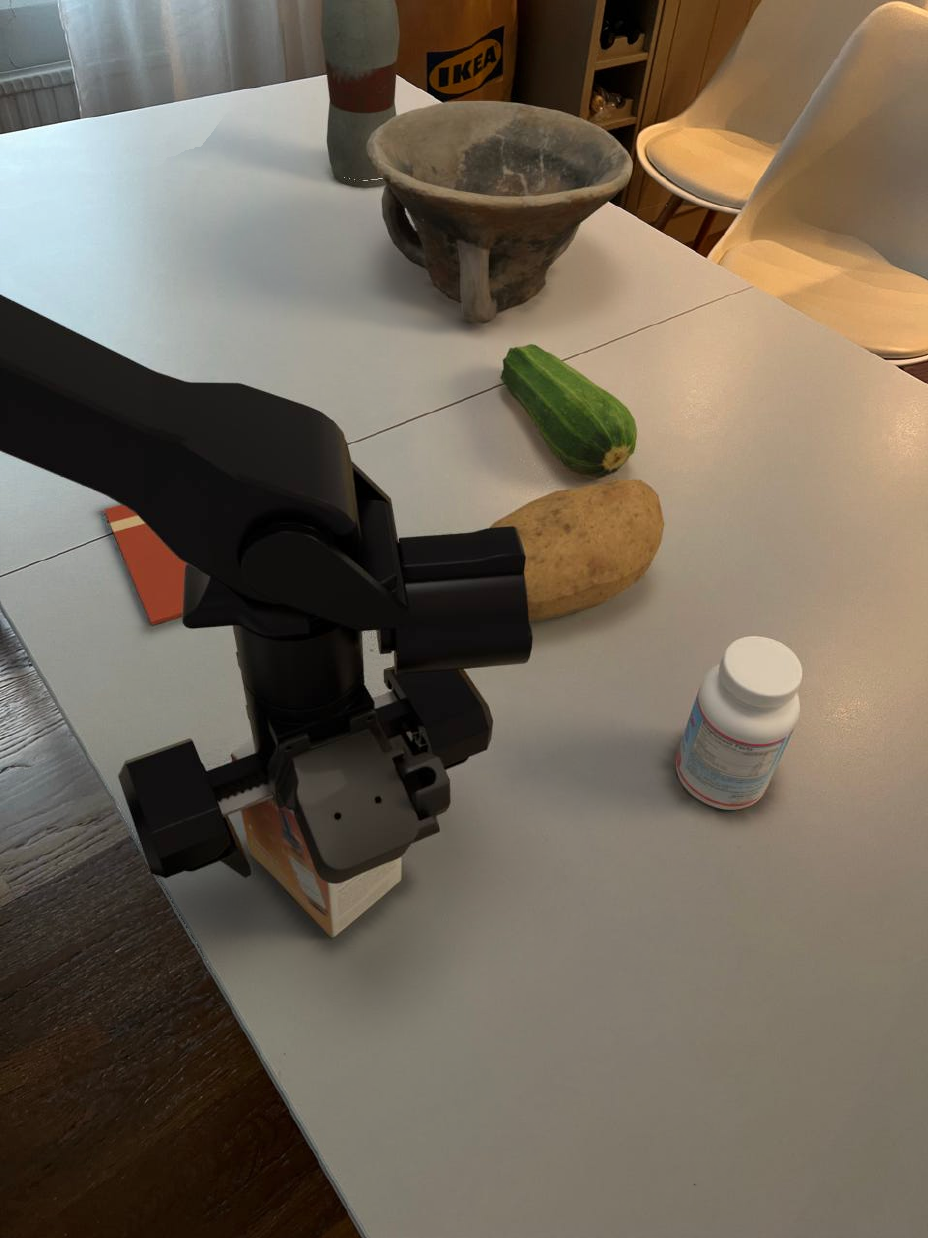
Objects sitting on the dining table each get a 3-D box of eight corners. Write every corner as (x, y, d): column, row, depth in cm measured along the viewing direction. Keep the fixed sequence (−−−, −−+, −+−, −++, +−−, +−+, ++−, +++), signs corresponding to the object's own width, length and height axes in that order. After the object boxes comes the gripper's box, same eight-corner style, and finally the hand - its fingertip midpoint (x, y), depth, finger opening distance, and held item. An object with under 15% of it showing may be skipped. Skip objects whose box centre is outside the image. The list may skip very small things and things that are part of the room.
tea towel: (151, 625, 74) (150, 621, 73) (104, 512, 82) (103, 508, 82) (376, 556, 80) (376, 552, 79) (311, 457, 88) (311, 453, 88)
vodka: (314, 169, 130) (296, -112, 108) (371, 154, 134) (365, -121, 112) (356, 195, 125) (347, -94, 103) (414, 178, 129) (417, -103, 108)
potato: (445, 583, 78) (449, 489, 71) (620, 537, 83) (639, 445, 76) (489, 661, 73) (498, 568, 66) (674, 608, 77) (700, 516, 70)
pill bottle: (707, 723, 70) (747, 610, 61) (783, 775, 67) (835, 664, 59) (655, 774, 66) (690, 662, 58) (733, 831, 64) (781, 722, 55)
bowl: (550, 214, 124) (565, 83, 113) (654, 320, 107) (683, 179, 96) (341, 242, 116) (335, 105, 105) (418, 361, 100) (420, 213, 89)
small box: (247, 853, 61) (225, 750, 53) (319, 799, 64) (307, 694, 56) (333, 943, 57) (322, 846, 50) (404, 881, 60) (405, 781, 53)
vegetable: (604, 413, 80) (502, 296, 93) (558, 486, 84) (466, 364, 96) (667, 432, 84) (561, 318, 97) (621, 500, 88) (525, 382, 101)
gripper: (151, 881, 39) (208, 1037, 50) (561, 717, 45) (529, 888, 57) (84, 682, 46) (147, 859, 57) (450, 564, 52) (441, 744, 63)
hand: (321, 839), depth 58 cm, fingers open, 9 cm apart
